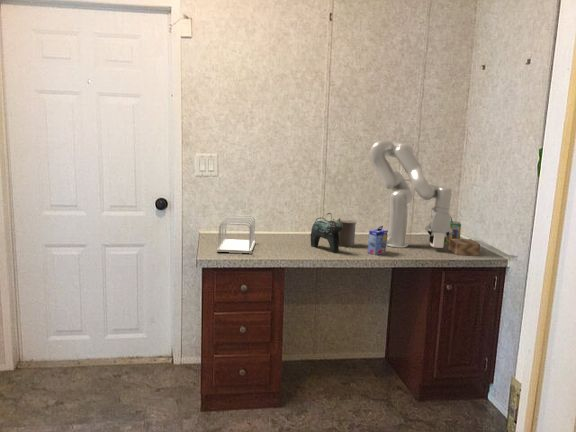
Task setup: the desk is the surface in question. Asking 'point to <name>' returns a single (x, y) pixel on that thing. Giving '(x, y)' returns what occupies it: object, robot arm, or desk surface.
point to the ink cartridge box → (377, 241)
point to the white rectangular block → (438, 239)
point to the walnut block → (464, 247)
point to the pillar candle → (347, 233)
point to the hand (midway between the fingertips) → (436, 242)
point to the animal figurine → (327, 233)
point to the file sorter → (234, 244)
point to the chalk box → (454, 230)
